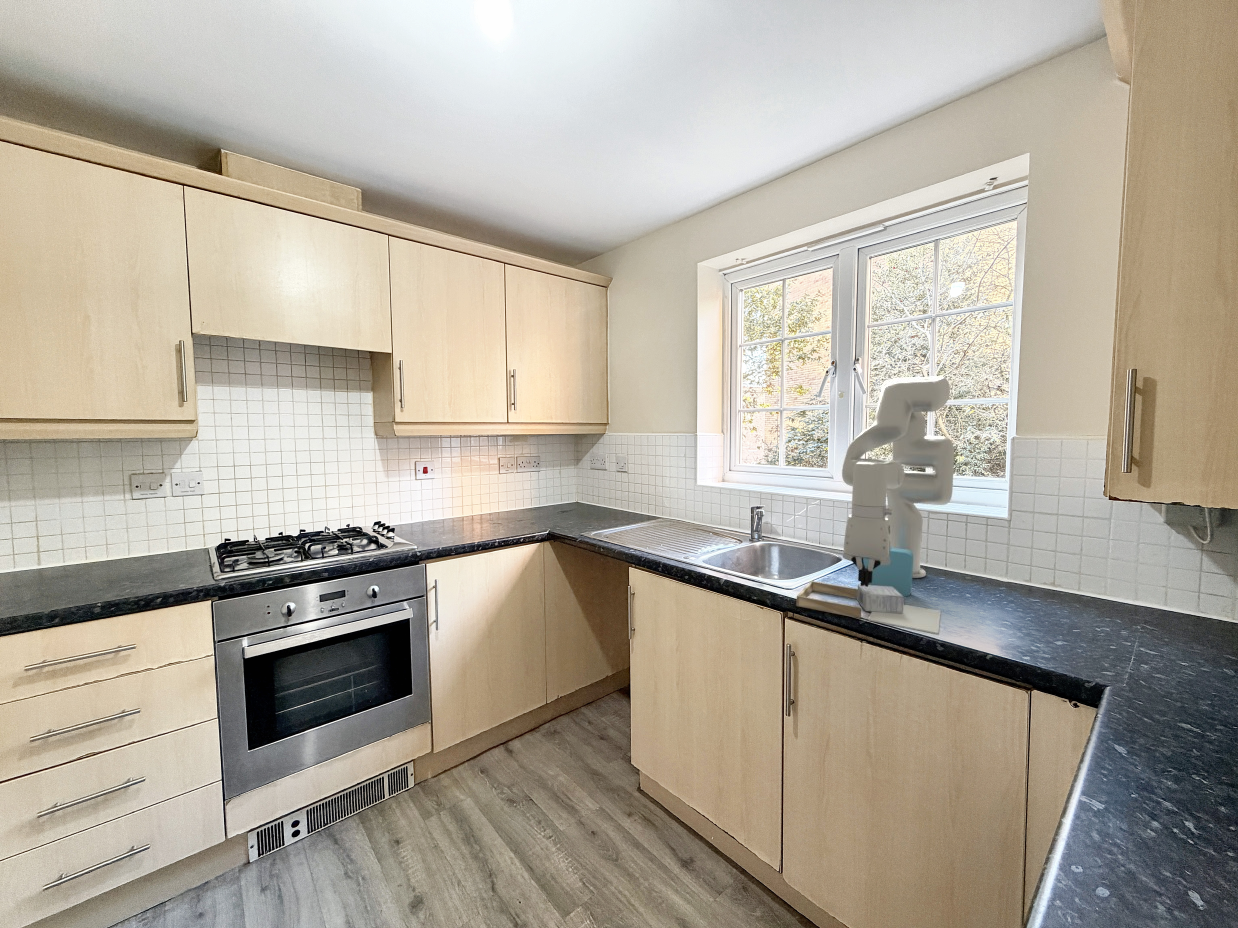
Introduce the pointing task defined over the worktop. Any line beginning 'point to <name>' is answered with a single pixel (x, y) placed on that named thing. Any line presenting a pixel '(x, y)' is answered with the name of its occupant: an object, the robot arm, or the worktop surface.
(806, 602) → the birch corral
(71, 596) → the worktop surface
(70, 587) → the worktop surface
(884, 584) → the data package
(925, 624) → the cream flat board
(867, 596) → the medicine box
